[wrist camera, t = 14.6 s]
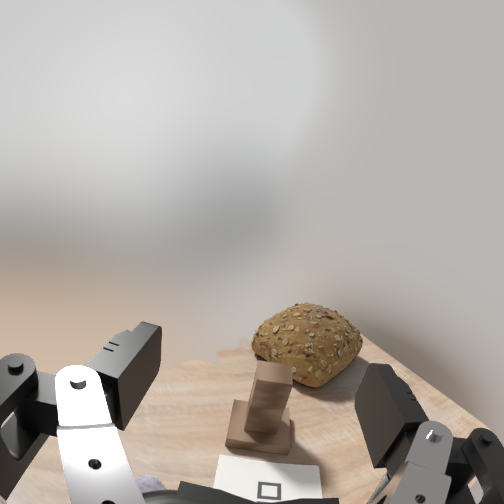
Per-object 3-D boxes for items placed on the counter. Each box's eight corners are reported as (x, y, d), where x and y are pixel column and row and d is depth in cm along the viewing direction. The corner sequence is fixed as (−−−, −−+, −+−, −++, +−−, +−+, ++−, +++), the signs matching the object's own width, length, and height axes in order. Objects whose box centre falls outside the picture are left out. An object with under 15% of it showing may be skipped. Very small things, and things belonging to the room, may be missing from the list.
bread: (295, 326, 80) (305, 286, 77) (363, 357, 66) (379, 315, 64) (234, 352, 61) (243, 302, 59) (316, 402, 48) (336, 348, 46)
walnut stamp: (224, 446, 35) (237, 386, 32) (232, 407, 44) (244, 349, 41) (287, 455, 35) (311, 397, 32) (285, 416, 43) (305, 359, 41)
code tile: (202, 537, 19) (202, 536, 19) (219, 454, 33) (219, 454, 33) (327, 545, 19) (327, 544, 19) (318, 465, 33) (318, 465, 32)
